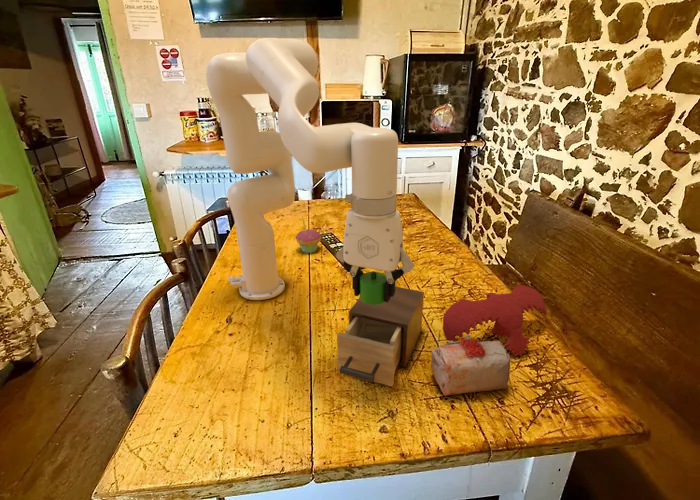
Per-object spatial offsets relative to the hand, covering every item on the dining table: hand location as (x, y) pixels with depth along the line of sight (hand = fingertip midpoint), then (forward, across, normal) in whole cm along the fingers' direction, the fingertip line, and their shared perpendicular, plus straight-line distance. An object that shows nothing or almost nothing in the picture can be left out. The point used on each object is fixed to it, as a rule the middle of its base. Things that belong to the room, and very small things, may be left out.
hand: (373, 294), depth 75 cm
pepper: (+1, 0, 0) cm, 1 cm away
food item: (+18, +19, +3) cm, 26 cm away
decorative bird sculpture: (+18, +24, +19) cm, 35 cm away
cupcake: (+17, -40, +47) cm, 64 cm away
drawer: (+16, 0, -1) cm, 16 cm away
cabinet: (+17, 0, +9) cm, 20 cm away
